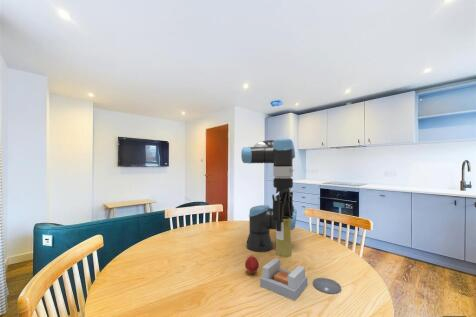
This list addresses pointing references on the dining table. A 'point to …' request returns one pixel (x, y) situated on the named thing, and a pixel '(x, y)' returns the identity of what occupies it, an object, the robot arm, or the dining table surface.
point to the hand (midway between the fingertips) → (283, 237)
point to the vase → (284, 245)
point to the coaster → (326, 285)
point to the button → (282, 277)
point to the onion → (251, 264)
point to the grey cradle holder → (292, 290)
